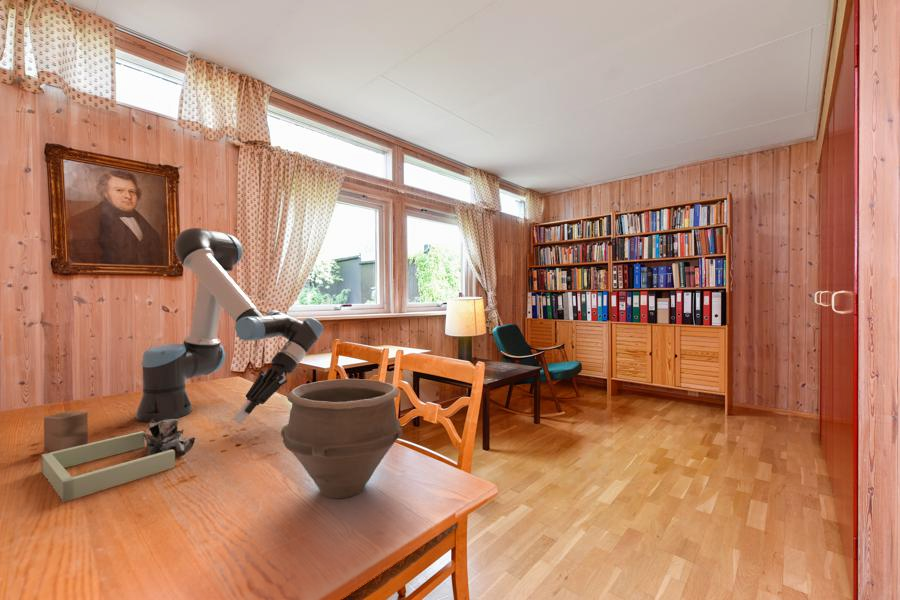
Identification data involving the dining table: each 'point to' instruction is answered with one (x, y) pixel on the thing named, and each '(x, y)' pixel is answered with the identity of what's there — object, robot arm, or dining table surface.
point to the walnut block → (65, 430)
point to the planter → (341, 431)
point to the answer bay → (106, 476)
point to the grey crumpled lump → (166, 437)
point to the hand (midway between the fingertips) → (236, 421)
